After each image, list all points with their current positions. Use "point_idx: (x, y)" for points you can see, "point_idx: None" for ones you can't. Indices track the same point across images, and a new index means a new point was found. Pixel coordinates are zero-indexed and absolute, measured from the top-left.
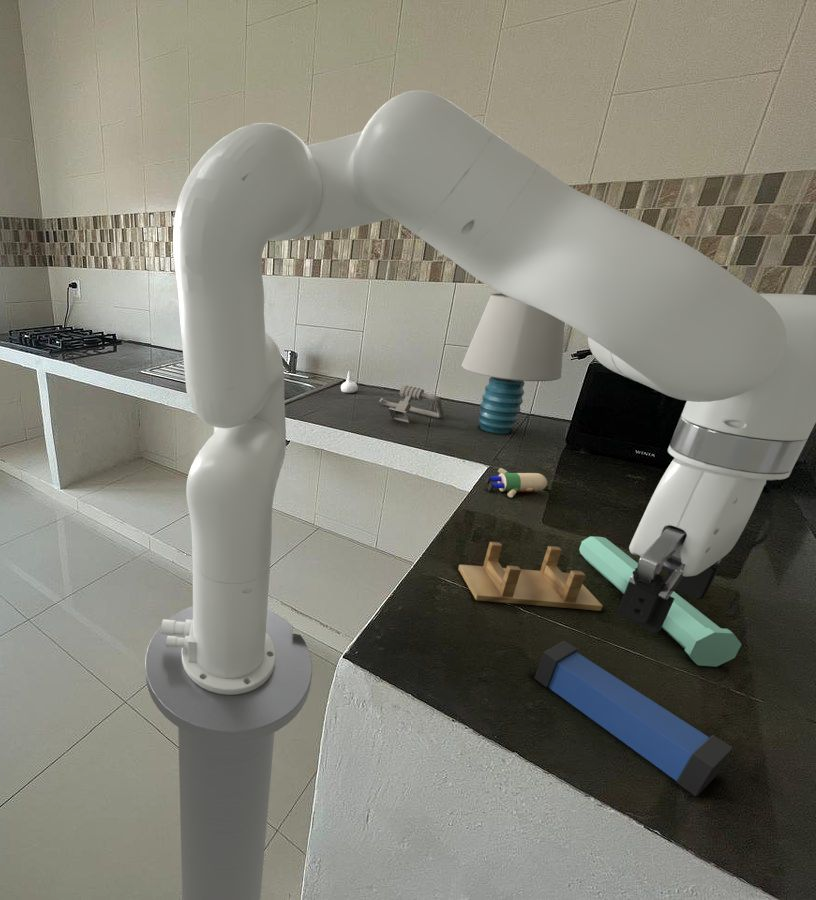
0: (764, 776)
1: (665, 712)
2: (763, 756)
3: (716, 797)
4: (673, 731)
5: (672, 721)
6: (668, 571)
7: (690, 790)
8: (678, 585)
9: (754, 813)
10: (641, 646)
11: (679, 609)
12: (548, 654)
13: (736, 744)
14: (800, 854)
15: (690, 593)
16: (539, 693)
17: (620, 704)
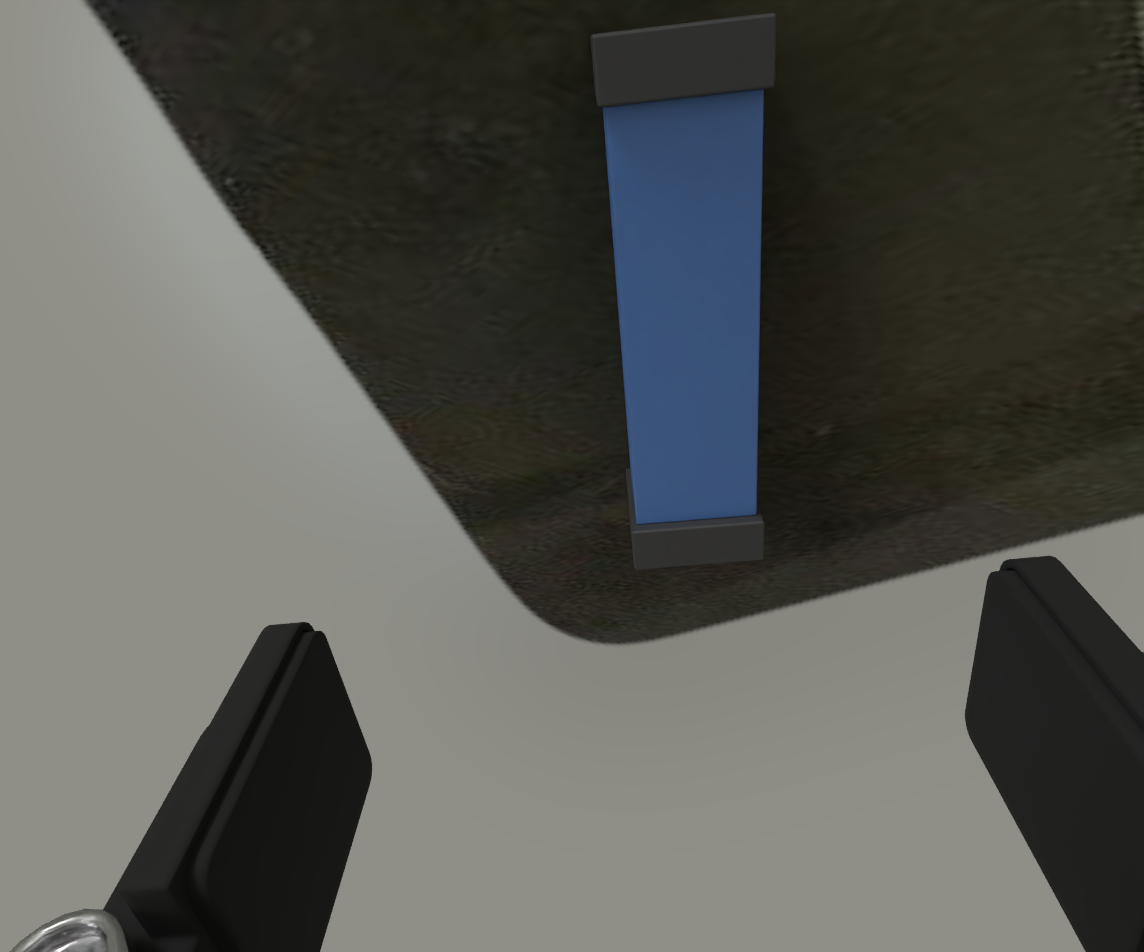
0: (859, 531)
1: (740, 422)
2: (937, 506)
3: None
4: (679, 467)
5: (719, 449)
6: (1065, 634)
7: (627, 495)
8: (994, 657)
9: None
10: None
11: None
12: (597, 59)
13: (923, 465)
14: (689, 625)
15: (977, 697)
16: (542, 103)
17: (631, 348)
